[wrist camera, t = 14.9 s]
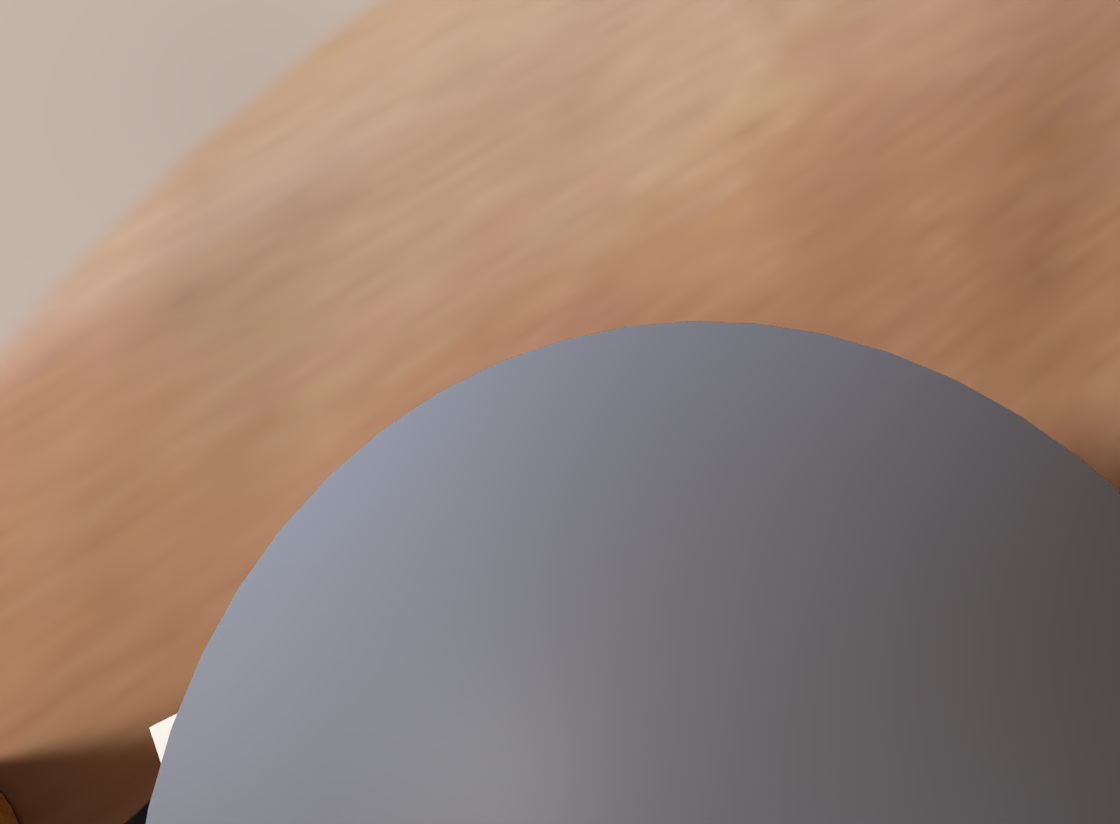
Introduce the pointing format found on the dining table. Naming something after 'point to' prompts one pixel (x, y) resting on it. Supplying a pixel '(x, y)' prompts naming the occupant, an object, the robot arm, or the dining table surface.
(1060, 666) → the slate peg
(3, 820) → the disposable coffee cup
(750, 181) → the dining table surface
